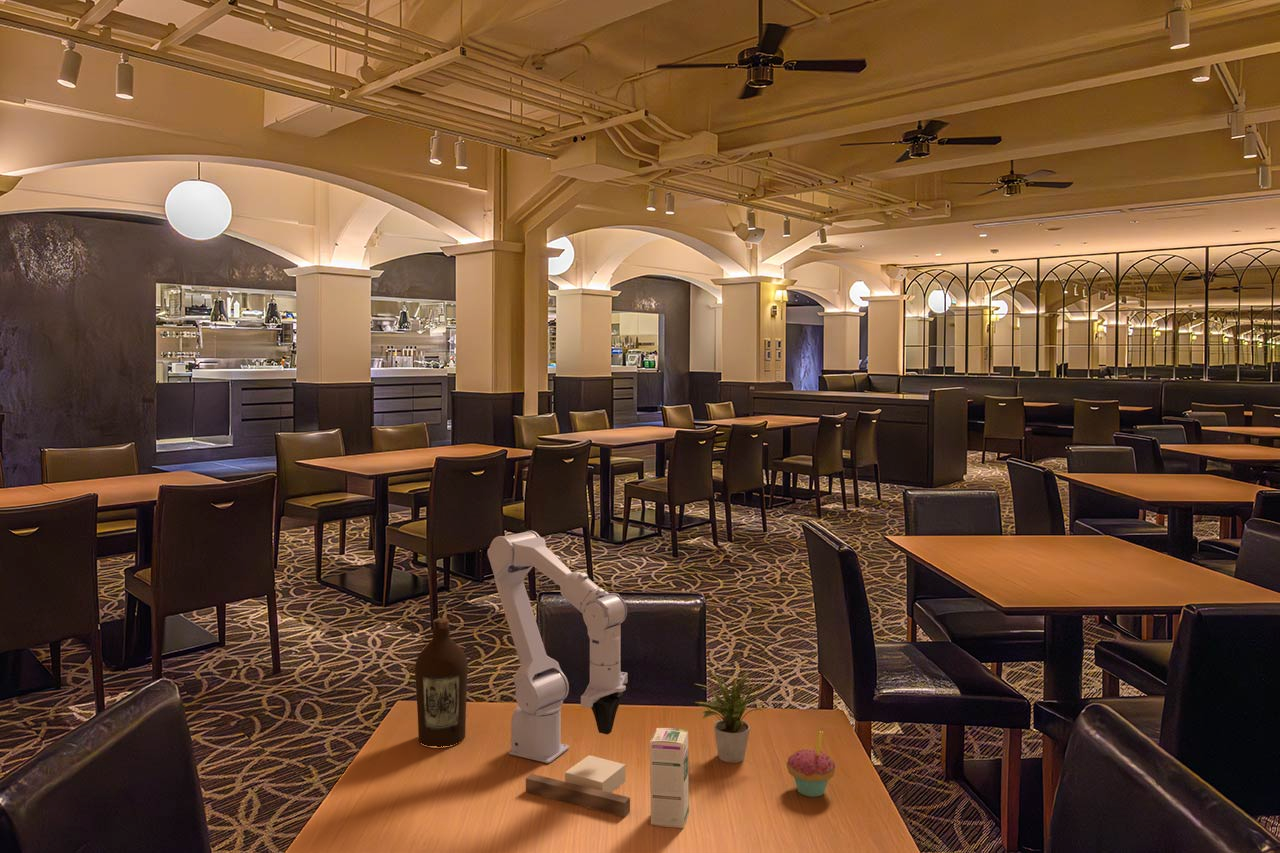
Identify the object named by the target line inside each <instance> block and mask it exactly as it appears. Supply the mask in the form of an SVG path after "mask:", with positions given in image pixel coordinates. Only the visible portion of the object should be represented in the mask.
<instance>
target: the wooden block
mask: <svg viewBox="0 0 1280 853" xmlns="http://www.w3.org/2000/svg"><path fill="white" fill-rule="evenodd" d="M564 782H568V783H572V784H576V785H580V786H585V787H589V788H593V789H597V790H601V791H605V792H609V793H613V792H614V791H616V790H617V789H618V788H620V786H622V785H623V784H624V783H626V764H625V763H620V762H617V761H613V760H610V759H605V758H602V757H598V756H594V755H590V754H589V755H587V756H586V757H584V758H583V759H582V760H580V761H579V762H578V763H576V764H575V765H573V766H571V767H570V768H569V769H568V770H566V771H564Z"/></svg>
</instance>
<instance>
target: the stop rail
mask: <svg viewBox="0 0 1280 853" xmlns="http://www.w3.org/2000/svg"><path fill="white" fill-rule="evenodd" d="M525 793H529V794H532V795H536V796H541V797H545V798H548V799H552V800H556V801H558V802H559V801H560V802H564V803H568V804H571V805H575V806H580V807H584V808H588V809H591V810H595V811H599V812H603V813H607V814H610V815H614V816H620V817H622V818H626V816H628V815H629V814H630V812H631V797H629V796H625V795H621V794H616V793H613V792H612V793H609V792H605V791H601V790H597V789H593V788H589V787H585V786H580V785H576V784H572V783H568V782H565V780H564V781H563V780H559V779H557V778H556V779H555V778H552V777H551V778H550V777H547V776H542V775H539V774H534V773H531V774H530V775H528V776H526V778H525Z"/></svg>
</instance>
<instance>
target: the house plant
mask: <svg viewBox="0 0 1280 853" xmlns="http://www.w3.org/2000/svg"><path fill="white" fill-rule="evenodd" d="M711 674H712V676H714V678H715V680H716V681H717V683H718V687H719V690H720V692H721V694H722V697H723V699H724V700H723V699H722V698H721V696H720V695H719V694H718V693H717V692H716V691H715V690H714V689H713V688H711V687H709V686H707V685H704V684H699V683H695V685H697V686H701V687H702V688H701V687H700V689H701V690H702V689H703V690H706V691H708V692H710V691H711V692H710V694H712V696H713V697H714V699H715V700H713V701H710V702H704V701H694V703H695V704H697V705H699V707H701V708H705V709H706V710H705V711H703V712H701V715H703V717H702V719H705V718H708V717H711V716H715V717H716V718H718V719H719V718H721V719H719V720H717V721H716V722H714V724H713V728H714V729H713V730H714V735H715V743H716V750H717V754H718V755H717V756H718V758H719V760H721V761H722V762H726V763H733V764H735V763H741V762H743V761H744V760H745V757H746V751H747V745H748V741H749V735H750V734H749V733H750V730H751V727H750V726H751V725H749V723H747V722H746V721H744V720H743V719H744V718H745V716H746V715H748V714H749V713H751V712H754V711H762V712H764V713H765V711H764V710H763V709H762V708H753V709H752V710H749V711H748V712H746V710H747V709H748V707H747V705H749V703H750V701H752V699H754V698H755V696H757V695H758V693H755V694H754V695H753V696H751V697H750V695H751V694H752V692H753V689H754V687H755V684H756V683H754V684H753V685H752V687H751V689H749V688H750V685H751V682H752V679H750V680H749V681H748V684H747V685H746V687H745V690H744V691H743V688H744V686H745V683H746V681H747V678H748V676H749V674H750V671H747V672H746V673H745V674H743V676H742V677H741V679H740V680H739V681H738V679H737V678H735V679H734V681H733V685H732V687H731V692H730V693H729V689H728V686H727V683H726V682H725V681H724V680H723V679H720V678H719V676H717V675H716V674H715V673H714V672H711ZM737 682H738V683H737ZM703 687H705V688H703ZM712 692H713V693H712ZM742 692H743V693H742ZM747 692H748V693H747ZM746 694H747V695H746ZM749 697H750V698H749ZM748 698H749V699H748ZM745 712H746V713H745ZM744 713H745V714H744ZM743 714H744V715H743ZM718 716H719V717H718Z"/></svg>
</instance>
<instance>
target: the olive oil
mask: <svg viewBox="0 0 1280 853" xmlns="http://www.w3.org/2000/svg"><path fill="white" fill-rule="evenodd" d="M432 624H433V626H432V639H431V640H430V641H429V642H428V643H427V645H426V646H425V647H424V648H422V650H421V651H420V652H419V654H418V655H417V658H416V660H415V665H414V677H415V678H414V679H415V693H416V695H415V696H416V707H417V708H416V710H417V730H418V734H417V735H418V742H420V743H422V744H424V745H427V746H437V747H441V746H442V747H443V746H450V745H454V744H456V743H459V742H461V741H462V740H463V739H464V738H465V739H466V727H467V726H466V723H467V721H466V719H467V718H466V717H467V716H466V715H467V713H466V712H467V693H468V692H467V691H468V674H469V672H468V670H469V667H468V666H469V664H468V658H467V656H466V653H465V652H464V650H463V649H462V648H461V647H460V646H459V645H458V644H457V643H456V642H455V641H454V640H453V639H452V638H451V637H450V620H449V619H448V618H446V617H440V618H436V619H434V620H433V621H432ZM465 739H464V740H465ZM464 740H463V741H464ZM463 741H462V742H463ZM462 742H461V743H462ZM420 743H419V744H420ZM459 744H460V743H459Z"/></svg>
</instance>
